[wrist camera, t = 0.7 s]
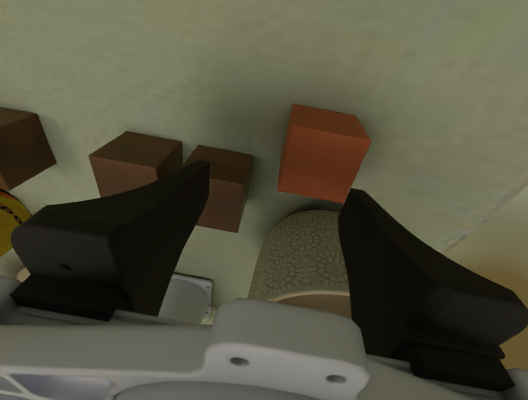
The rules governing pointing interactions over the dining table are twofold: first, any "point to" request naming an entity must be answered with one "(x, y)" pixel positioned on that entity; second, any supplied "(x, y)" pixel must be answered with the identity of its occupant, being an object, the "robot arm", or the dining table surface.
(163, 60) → the dining table surface
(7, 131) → the walnut block
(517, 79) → the dining table surface
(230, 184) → the walnut block
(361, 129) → the terracotta block
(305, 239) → the planter
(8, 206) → the beverage can
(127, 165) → the walnut block
